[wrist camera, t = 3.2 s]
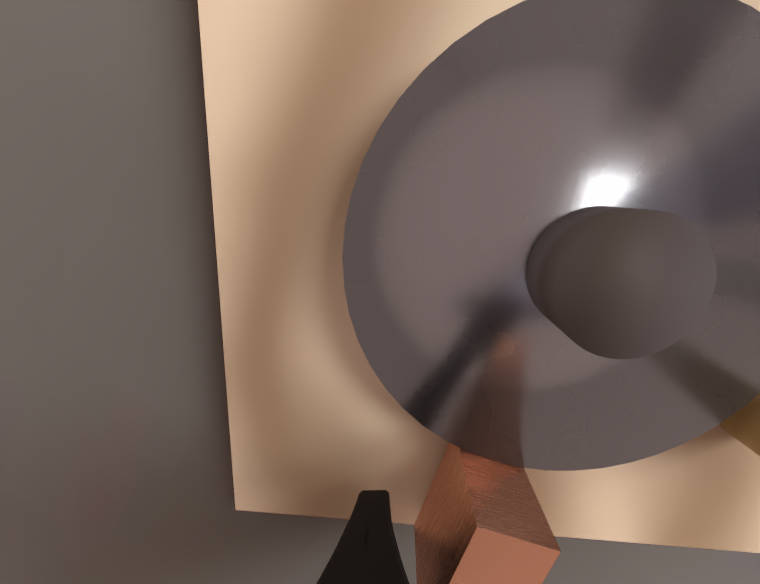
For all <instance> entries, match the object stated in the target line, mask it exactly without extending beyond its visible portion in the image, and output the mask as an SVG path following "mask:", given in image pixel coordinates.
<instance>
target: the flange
mask: <svg viewBox="0 0 760 584" xmlns="http://www.w3.org/2000/svg"><path fill="white" fill-rule="evenodd" d="M591 206H611V207H623V208H635V209H647V210H657V211H664V212H668V213H672V214H675V215H678V216H680V217H682V218H684V219H686V220H687V221H689V222H691V223H692V224H693V225H695V226H696V227H697V228H698V229H699V230H700V231H701V232H702V233H703V235H704V236H705V237H706V239H707V240H708V242H709V244H710V245H711V248H712V250H713V253H714V257H715V261H716V272H717V275H716V285H715V289H714V293H713V296H712V299H711V301H710V304H709V306H708V308H707V309H706V311H705V313H704V315H703V316H702V317H701V319H700V320H699V322H698V323H697V324H696V325H695V326H694V327H693V329H692V330H691V331H689V332H688V333H687V334H686V335H685V336H684V337H683V338H681V339H680V340H679V341H677V342H676V343H674V344H673V345H671V346H669V347H668V348H666V349H664V350H662V351H659V352H657V353H654V354H651V355H648V356H645V357H640V358H635V359H610V358H605V357H601V356H597V355H595V354H592V353H590V352H588V351H586V350H584V349H583V348H581V347H580V346H578V345H577V344H576V343H574V342H573V341H572V340H571V339H570V338H569V337H568V336H567V335H565V334H564V333H563V332H562V331H561V330H560V329H559V328H557V327H556V326H555V325H554V324H553V323H552V322H551V321H550V320H548V319H547V318H546V317H545V316H544V315H543V314H542V313H541V312H540V311H539V310H538V309H537V307H536V306H535V305H534V303H533V301H532V299H531V297H530V294H529V292H528V288H527V282H526V271H527V264H528V259H529V256H530V254H531V251H532V249H533V247H534V245H535V243H536V242H537V240H538V239H539V237H540V236H541V235H542V234H543V232H544V231H545V230H546V229H547V228H548V227H549V226H550V225H551V224H553V223H554V222H555V221H557V220H558V219H559V218H561V217H563V216H564V215H566V214H568V213H570V212H573V211H575V210H578V209H582V208H585V207H591ZM342 259H343V278H344V289H345V294H346V300H347V305H348V310H349V315H350V318H351V321H352V324H353V327H354V330H355V333H356V336H357V339H358V342H359V344H360V346H361V348H362V350H363V352H364V354H365V356H366V358H367V360H368V362H369V364H370V366H371V368H372V369H373V371H374V372H375V374H376V375H377V377H378V378H379V380H380V381H381V383H382V384H383V386H384V387H385V388H386V390H387V391H388V392H389V393H390V394H391V395H392V396H393V398H394V399H395V400H396V401H397V402H398V403H399V404H400V405H401V407H402V408H403V409H404V410H406V411H407V412H408V413H409V414H410V415H411V416H412V417H414V418H415V419H416V420H417V421H418V422H419V423H420V424H422V425H423V426H424V427H426V428H427V429H429V430H430V431H432V432H433V433H435V434H436V435H438V436H439V437H441V438H442V439H444V440H445V441H447V442H449V444H448V447H447V449H446V451H445V454H444V456H443V458H442V461H441V463H440V465H439V468H438V470H437V472H436V475H435V477H434V479H433V482H432V484H431V486H430V489H429V491H428V493H427V496H426V498H425V500H424V503H423V505H422V507H421V510H420V512H419V514H418V517H417V519H416V521H415V524H414V527H415V551H416V574H417V584H542V583H543V581H544V579H545V578H546V576H547V574H548V572H549V571H550V569H551V567H552V566H553V564H554V562H555V561H556V559H557V557H558V555H559V554H560V552H561V551H560V548H559V546H558V544H557V542H556V539H555V537H554V535H553V533H552V530H551V528H550V526H549V524H548V521H547V519H546V517H545V515H544V512H543V510H542V508H541V506H540V503H539V501H538V499H537V497H536V494H535V492H534V490H533V487H532V485H531V483H530V481H529V478H528V476H527V474H526V472H525V469H524V468H530V469H538V470H552V471H577V470H588V469H599V468H606V467H611V466H616V465H621V464H626V463H631V462H634V461H638V460H641V459H644V458H647V457H651V456H654V455H657V454H660V453H663V452H665V451H667V450H670V449H672V448H675V447H677V446H679V445H682V444H684V443H687V442H688V441H690V440H692V439H694V438H696V437H698V436H700V435H701V434H703V433H705V432H707V431H709V430H711V429H713V428H714V427H716V426H717V425H719V424H720V423H722V422H723V421H725V420H726V419H728V418H729V417H731V416H732V415H733V414H735V413H736V412H738V411H739V410H741V409H742V408H743V407H744V406H746V405H747V404H748V403H749V402H750V401H751V400H753V399H754V398H755V397H756V396H757V395H759V394H760V12H759V11H758V10H756V9H755V8H753V7H752V6H750V5H748V4H745V3H743V2H741V1H739V0H525V1H522V2H520V3H518V4H516V5H514V6H512V7H511V8H509V9H507V10H505V11H503V12H501V13H499V14H497V15H495V16H493V17H491V18H489V19H487V20H485V21H484V22H483V23H481V24H480V25H478V26H477V27H475V28H474V29H473V30H471V31H470V32H468V33H467V34H465V35H464V36H462V37H461V38H460V39H458V40H457V41H455V42H454V43H452V44H451V45H450V46H449V47H448V48H447V49H446V50H445V51H444V52H443V53H441V54H440V55H439V56H438V57H437V58H436V59H435V60H434V61H433V62H431V63H430V64H429V65H428V66H427V67H426V68H425V69H424V70H423V71H422V72H421V73H420V74H419V76H418V77H417V78H416V79H415V80H414V81H413V82H412V84H411V85H410V86H409V87H408V88H407V89H406V91H405V92H404V93H403V94H402V95H401V96H400V98H399V99H398V100H397V102H396V103H395V105H394V106H393V108H392V109H391V111H390V112H389V114H388V115H387V117H386V118H385V120H384V121H383V123H382V124H381V126H380V127H379V129H378V131H377V133H376V135H375V137H374V139H373V141H372V143H371V145H370V147H369V149H368V151H367V153H366V155H365V157H364V159H363V161H362V164H361V167H360V170H359V173H358V176H357V179H356V181H355V184H354V187H353V190H352V193H351V198H350V202H349V207H348V212H347V217H346V221H345V228H344V241H343V254H342Z"/></svg>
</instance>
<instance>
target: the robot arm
mask: <svg viewBox="0 0 760 584" xmlns="http://www.w3.org/2000/svg"><path fill="white" fill-rule="evenodd" d="M317 584H409V582H408V579H407V576H406V573H405V570H404V567H403V564H402V560H401V557H400V553H399V550H398V546H397V543H396V539H395V535H394V531H393V526H392V519H391V508H390V497H389V492H388V491H386V490H362V491H361V492H360V493H359V495H358V498H357V501H356V504H355V507H354V509H353V512H352V514H351V517H350V519H349V521H348V523H347V526H346V528H345V530H344V532H343V534H342V536H341V539H340V541H339V543H338V545H337V547H336V549H335V551H334V553H333V555H332V557H331V559H330V560H329V562H328V564H327V566H326V568H325V569H324V571H323V573H322V575H321V577H320V578H319V580H318V582H317Z"/></svg>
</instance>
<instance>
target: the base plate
mask: <svg viewBox="0 0 760 584" xmlns="http://www.w3.org/2000/svg"><path fill="white" fill-rule="evenodd" d="M522 1H525V0H198V11H199V25H200V38H201V51H202V65H203V78H204V92H205V105H206V119H207V132H208V146H209V159H210V173H211V186H212V200H213V213H214V227H215V240H216V254H217V267H218V281H219V294H220V308H221V321H222V335H223V348H224V362H225V375H226V389H227V402H228V415H229V429H230V442H231V456H232V469H233V483H234V496H235V510H242V511H254V512H266V513H279V514H291V515H303V516H315V517H327V518H340V519H350V517H351V514H352V512H353V509H354V507H355V504H356V501H357V498H358V495H359V493H360V492H361V491H362V490H386V491H388V492H389V497H390V508H391V519H392V523H401V524H413V525H414V524H415V521H416V519H417V517H418V514H419V512H420V510H421V507H422V505H423V503H424V500H425V498H426V496H427V493H428V491H429V489H430V486H431V484H432V482H433V479H434V477H435V475H436V472H437V470H438V468H439V465H440V463H441V461H442V458H443V456H444V454H445V451H446V449H447V447H448V444H449V442H447V441H445V440H444V439H442V438H441V437H439V436H438V435H436V434H435V433H433V432H432V431H430V430H429V429H427V428H426V427H424V426H423V425H422V424H420V423H419V422H418V421H417V420H416V419H415V418H414V417H412V416H411V415H410V414H409V413H408V412H407V411H406V410H404V409H403V408H402V407H401V405H400V404H399V403H398V402H397V401H396V400H395V399H394V398H393V396H392V395H391V394H390V393H389V392H388V391H387V390H386V388H385V387H384V386H383V384H382V383H381V381H380V380H379V378H378V377H377V375H376V374H375V372H374V371H373V369H372V368H371V366H370V364H369V362H368V360H367V358H366V356H365V354H364V352H363V350H362V348H361V346H360V344H359V342H358V339H357V336H356V333H355V330H354V327H353V324H352V321H351V318H350V315H349V310H348V305H347V300H346V294H345V289H344V278H343V259H342V254H343V241H344V228H345V221H346V217H347V212H348V207H349V202H350V198H351V193H352V190H353V187H354V184H355V181H356V179H357V176H358V173H359V170H360V167H361V164H362V161H363V159H364V157H365V155H366V153H367V151H368V149H369V147H370V145H371V143H372V141H373V139H374V137H375V135H376V133H377V131H378V129H379V127H380V126H381V124H382V123H383V121H384V120H385V118H386V117H387V115H388V114H389V112H390V111H391V109H392V108H393V106H394V105H395V103H396V102H397V100H398V99H399V98H400V96H401V95H402V94H403V93H404V92H405V91H406V89H407V88H408V87H409V86H410V85H411V84H412V82H413V81H414V80H415V79H416V78H417V77H418V76H419V74H420V73H421V72H422V71H423V70H424V69H425V68H426V67H427V66H428V65H429V64H430V63H431V62H433V61H434V60H435V59H436V58H437V57H438V56H439V55H440V54H441V53H443V52H444V51H445V50H446V49H447V48H448V47H449V46H450V45H451V44H452V43H454V42H455V41H457V40H458V39H460V38H461V37H462V36H464V35H465V34H467V33H468V32H470V31H471V30H473V29H474V28H475V27H477V26H478V25H480V24H481V23H483V22H484V21H485V20H487V19H489V18H491V17H493V16H495V15H497V14H499V13H501V12H503V11H505V10H507V9H509V8H511V7H512V6H514V5H516V4H518V3H520V2H522ZM739 1H741V2H743V3H745V4H748V5H750V6H752V7H753V8H755V9H756V10H758V11H759V12H760V0H739ZM716 275H717V272H716V261H715V257H714V253H713V250H712V248H711V245H710V244H709V242H708V240H707V239H706V237H705V236H704V235H703V233H702V232H701V231H700V230H699V229H698V228H697V227H696V226H695V225H693V224H692V223H691V222H689V221H687V220H686V219H684V218H682V217H680V216H678V215H675V214H672V213H668V212H664V211H657V210H647V209H635V208H623V207H611V206H591V207H585V208H582V209H578V210H575V211H573V212H570V213H568V214H566V215H564V216H563V217H561V218H559V219H558V220H557V221H555V222H554V223H553V224H551V225H550V226H549V227H548V228H547V229H546V230H545V231H544V232H543V234H542V235H541V236H540V237H539V239H538V240H537V242H536V243H535V245H534V247H533V249H532V251H531V254H530V256H529V259H528V264H527V271H526V282H527V288H528V292H529V294H530V297H531V299H532V301H533V303H534V305H535V306H536V307H537V309H538V310H539V311H540V312H541V313H542V314H543V315H544V316H545V317H546V318H547V319H548V320H550V321H551V322H552V323H553V324H554V325H555V326H556V327H557V328H559V329H560V330H561V331H562V332H563V333H564V334H565V335H567V336H568V337H569V338H570V339H571V340H572V341H573V342H574V343H576V344H577V345H578V346H580V347H581V348H583V349H584V350H586V351H588V352H590V353H592V354H595V355H597V356H601V357H605V358H610V359H635V358H640V357H645V356H648V355H651V354H654V353H657V352H659V351H662V350H664V349H666V348H668V347H669V346H671V345H673V344H674V343H676V342H677V341H679V340H680V339H681V338H683V337H684V336H685V335H686V334H687V333H688V332H689V331H691V330H692V329H693V327H694V326H695V325H696V324H697V323H698V322H699V320H700V319H701V317H702V316H703V315H704V313H705V311H706V309H707V308H708V306H709V304H710V301H711V299H712V296H713V293H714V289H715V285H716ZM524 469H525V472H526V474H527V476H528V478H529V481H530V483H531V485H532V487H533V490H534V492H535V494H536V497H537V499H538V501H539V503H540V506H541V508H542V510H543V512H544V515H545V517H546V519H547V521H548V524H549V526H550V528H551V530H552V533H553V535H554V536H559V537H571V538H583V539H596V540H608V541H620V542H632V543H644V544H657V545H669V546H681V547H693V548H705V549H718V550H730V551H742V552H754V553H760V394H759V395H757V396H756V397H755V398H754V399H753V400H751V401H750V402H749V403H748V404H747V405H746V406H744V407H743V408H742V409H741V410H739V411H738V412H736V413H735V414H733V415H732V416H731V417H729V418H728V419H726V420H725V421H723V422H722V423H720V424H719V425H717V426H716V427H714V428H713V429H711V430H709V431H707V432H705V433H703V434H701V435H700V436H698V437H696V438H694V439H692V440H690V441H688V442H687V443H684V444H682V445H679V446H677V447H675V448H672V449H670V450H667V451H665V452H663V453H660V454H657V455H654V456H651V457H647V458H644V459H641V460H638V461H634V462H631V463H626V464H621V465H616V466H611V467H606V468H599V469H588V470H577V471H552V470H538V469H530V468H524Z"/></svg>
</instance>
